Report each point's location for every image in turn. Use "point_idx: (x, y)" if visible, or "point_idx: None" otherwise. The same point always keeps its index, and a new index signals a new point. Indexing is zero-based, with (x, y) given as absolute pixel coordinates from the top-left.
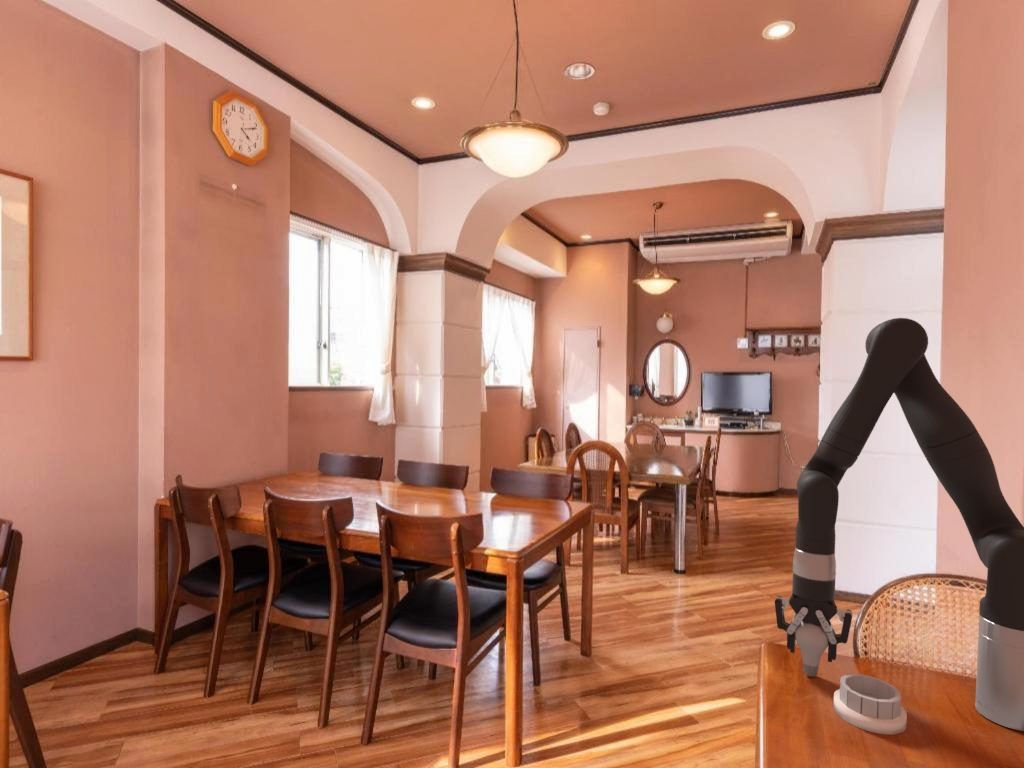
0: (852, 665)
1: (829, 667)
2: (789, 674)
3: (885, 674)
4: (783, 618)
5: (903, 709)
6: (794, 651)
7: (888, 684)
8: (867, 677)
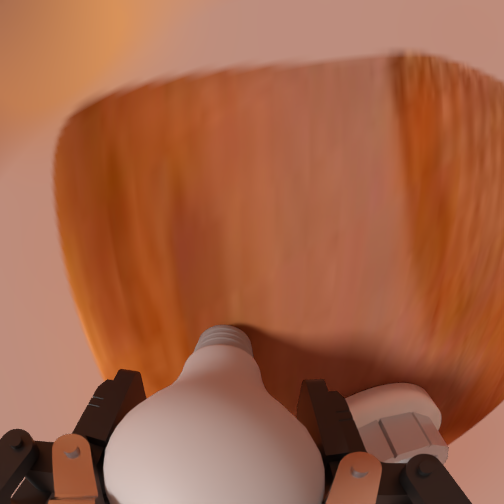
0: (388, 139)
1: (299, 211)
2: (157, 357)
3: (472, 170)
4: (18, 478)
5: (437, 429)
6: (143, 393)
7: (440, 451)
8: (403, 459)
